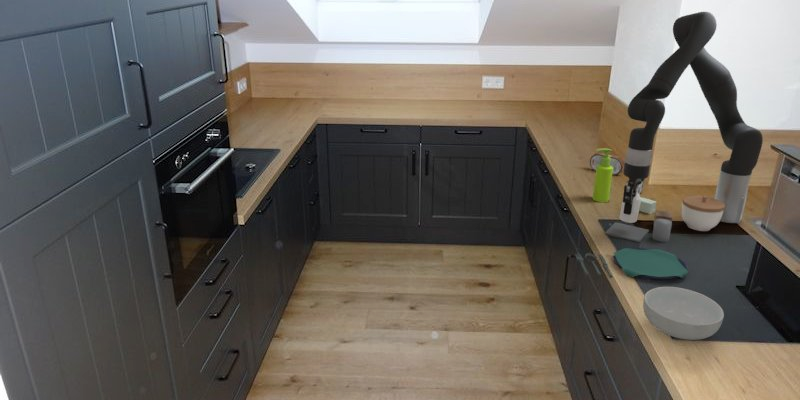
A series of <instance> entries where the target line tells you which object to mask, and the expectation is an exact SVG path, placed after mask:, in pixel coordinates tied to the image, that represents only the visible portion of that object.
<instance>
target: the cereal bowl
mask: <svg viewBox="0 0 800 400" xmlns="http://www.w3.org/2000/svg"><path fill="white" fill-rule="evenodd" d="M642 307H643V313H644V316H645V317H646V319H647V321H649V323H650V324H651V325H652V326H653V327H654V328H655V329H657V330H659V331H660V332H662V333H664V334H666V335H668V336H670V337H673V338H677V339H679V340H680V339H681V340H687V341H688V340H689V341H690V340H691V341H695V340H703V339H707V338H709V337H712V336H713V335H714V334H716V333H717V332H718V331H719V329H720V328H721V326H722V323H723V322H724V317H725V314H724V310H723V308H722V307H721V306H720V305H719V304H718V302H716V301H714V299H711V298H710V297H708V296H707V295H704V294H702V293H700V292H697V291H694V290H691V289H687V288H682V287H678V286H677V287H676V286H660V287H654V288H652V289H650V290H647V292H645V294H644V297H643V305H642Z"/></svg>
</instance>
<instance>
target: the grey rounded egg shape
mask: <svg viewBox="0 0 800 400" xmlns="http://www.w3.org/2000/svg"><path fill="white" fill-rule="evenodd" d="M672 225H673V222H671V221H670V220H667V219H656V220H655V223H654V222H653V230H652V235H651V238H652V240H654V241H657V242H662V243H666V242H669V241H670V236H671V230H672Z"/></svg>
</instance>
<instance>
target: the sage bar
mask: <svg viewBox="0 0 800 400" xmlns="http://www.w3.org/2000/svg"><path fill="white" fill-rule="evenodd" d="M640 198H641V203H640V208H639V212H642V213H645V214H649V215H650V214H651V215H652V213H655V212H656V208H657V207H656V206H657V203H658V201H655V200H652V199H648V198H646V197H642V196H640Z"/></svg>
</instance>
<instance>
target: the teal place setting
mask: <svg viewBox="0 0 800 400" xmlns="http://www.w3.org/2000/svg"><path fill="white" fill-rule="evenodd" d="M588 256H591V257H593V258H594V259H595V260H590V259H588V258H587V257H588ZM598 256H599V258H600V260H601V262H602V266H603V267H604V269H605V270H606V271H607V273H608V275H609V278H611V279H612V278H613V275H612V274H611V271H610V270H609V265H608V263H606V260H605V257H604V256H603V255H602V254H601V253H598ZM575 258H576V261H577V262H579V264H580V265H581V268H582V270H583V273H584V274H585V275H584V276H585V277H589V272H588V270H587V268H586V266H585V263H584V261H585V259H586V260H587V261H588V262H589V263H591V264H592V265H593V267H594V269H595V271H596V274H597V276H598V277H600V276H602V272H600V270H599V267H598V266H597V265H596V264H595V262H596V261H597V259H598V258H597V256H596V255H595V254H593V253H589V252H588V253H585V255H584V257H582V255H581V253H575ZM584 258H585V259H584ZM612 258H613V263H614V264H615V265H616V266H617V267H618V268H620V269H621V270H622V271H623V273H624V275H625V276H626V277H629V278H634V277H636V276H637V277H641V278H646V279H651V280H672V279H676V278H679V279H682V278H684V277H685V276H687V275H688V266H687V265H686V262H684V261H682V259H681V258H678V257H677V256H676V255H675V254H674V253H671V252H668V251H664V250H661V249H657V248H653V249H652V248H651V249H650V248H641V247H635V248H627V247H626V248H625V247H624V248H621V249H620V250H617V251H615V252H614V253H613V256H612Z"/></svg>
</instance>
